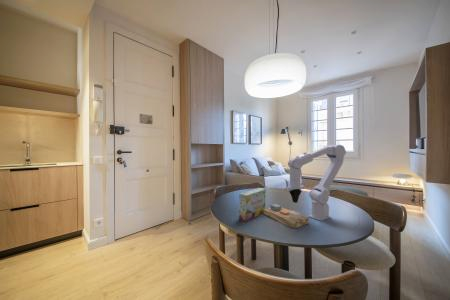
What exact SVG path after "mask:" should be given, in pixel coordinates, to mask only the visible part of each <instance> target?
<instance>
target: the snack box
mask: <svg viewBox="0 0 450 300" xmlns="http://www.w3.org/2000/svg"><path fill="white" fill-rule="evenodd" d="M266 191H267V190H266V188H264V187H263V188H261V187H257V188H254V189H251V190H247V191H244V192H241V193H239V196H238V197H239V198H238V208H239V209H238V219H239V220H240V221H243V222H249V221H250V220H252V219H254V218H256V217H258V216H260V215H262V214H264V209H266Z"/></svg>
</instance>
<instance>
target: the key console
mask: <svg viewBox="0 0 450 300" xmlns="http://www.w3.org/2000/svg"><path fill="white" fill-rule="evenodd" d="M284 209H285V210H287V211H290V210H291V209H286V208H284V207H282V206H281V210H284ZM292 211H293V210H292ZM292 211H290V212H292ZM263 214H264V215H265V216H267V217H269V218H272V219H273V220H275V221H277V222H280V223H282V224H283V225H286V226H288V227H290V228H292V229H297V228H300V227H302V226H304V225H305V226H306V225H307V224H309V223H310V217H309V216H305V215H303V214H301V219H298V220H294V219H292V218H290V217H289V215H286V216H285V215H283V214H280V213H279V211H277V212H275V211H273V210H271V207H268V208H265V209H264V213H263Z"/></svg>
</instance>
